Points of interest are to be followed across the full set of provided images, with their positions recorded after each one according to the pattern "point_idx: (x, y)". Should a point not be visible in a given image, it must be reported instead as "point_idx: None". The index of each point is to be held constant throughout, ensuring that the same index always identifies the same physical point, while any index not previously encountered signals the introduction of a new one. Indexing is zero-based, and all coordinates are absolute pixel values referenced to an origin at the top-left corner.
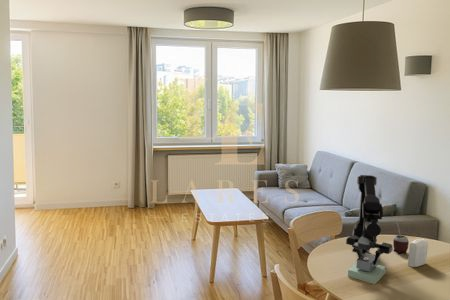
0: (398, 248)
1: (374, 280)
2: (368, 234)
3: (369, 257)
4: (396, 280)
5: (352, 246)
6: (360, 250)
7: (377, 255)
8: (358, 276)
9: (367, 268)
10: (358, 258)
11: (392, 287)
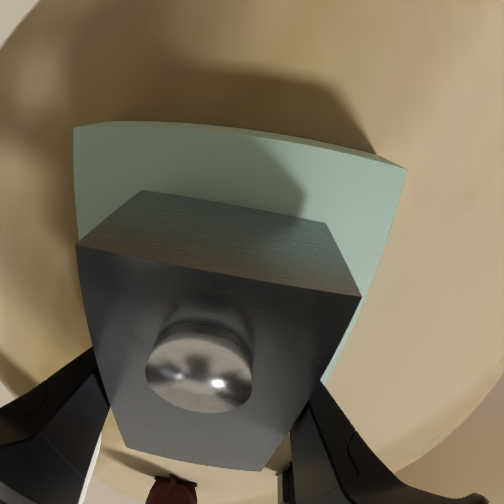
0: (172, 492)
1: (102, 124)
2: None
3: (185, 420)
4: (39, 274)
5: (486, 500)
6: (319, 491)
7: (15, 415)
8: (273, 135)
9: (160, 208)
10: (332, 347)
11: (16, 153)
